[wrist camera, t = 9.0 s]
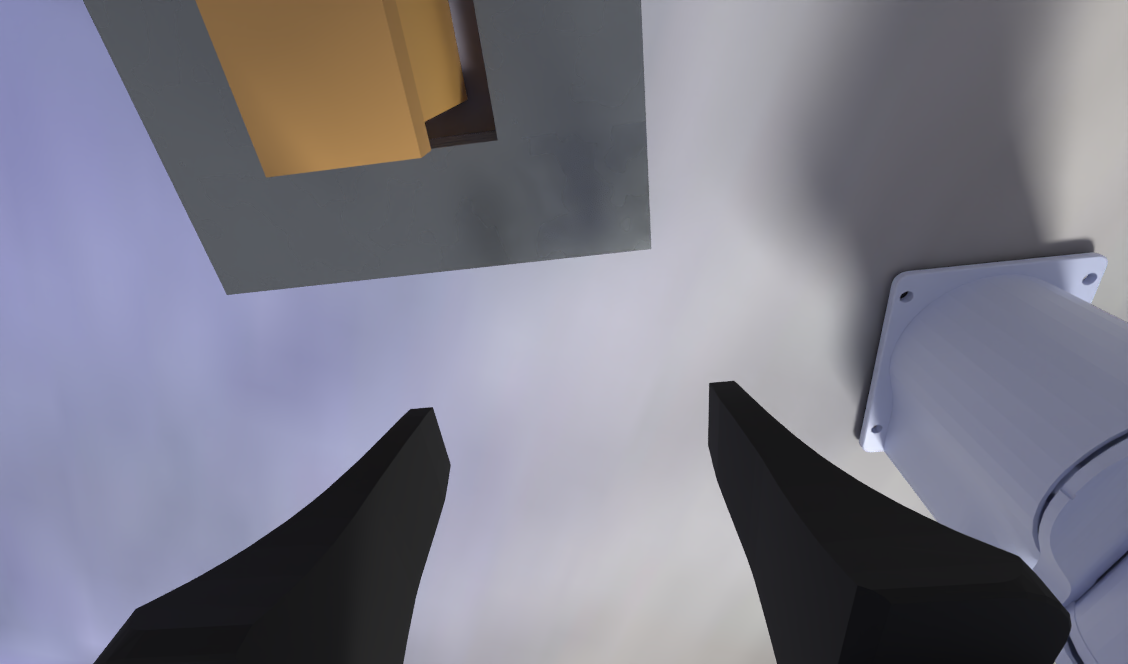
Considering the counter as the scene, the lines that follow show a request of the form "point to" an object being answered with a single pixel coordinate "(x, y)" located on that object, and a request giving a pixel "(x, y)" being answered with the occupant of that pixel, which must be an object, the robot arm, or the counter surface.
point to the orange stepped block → (336, 77)
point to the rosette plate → (416, 186)
